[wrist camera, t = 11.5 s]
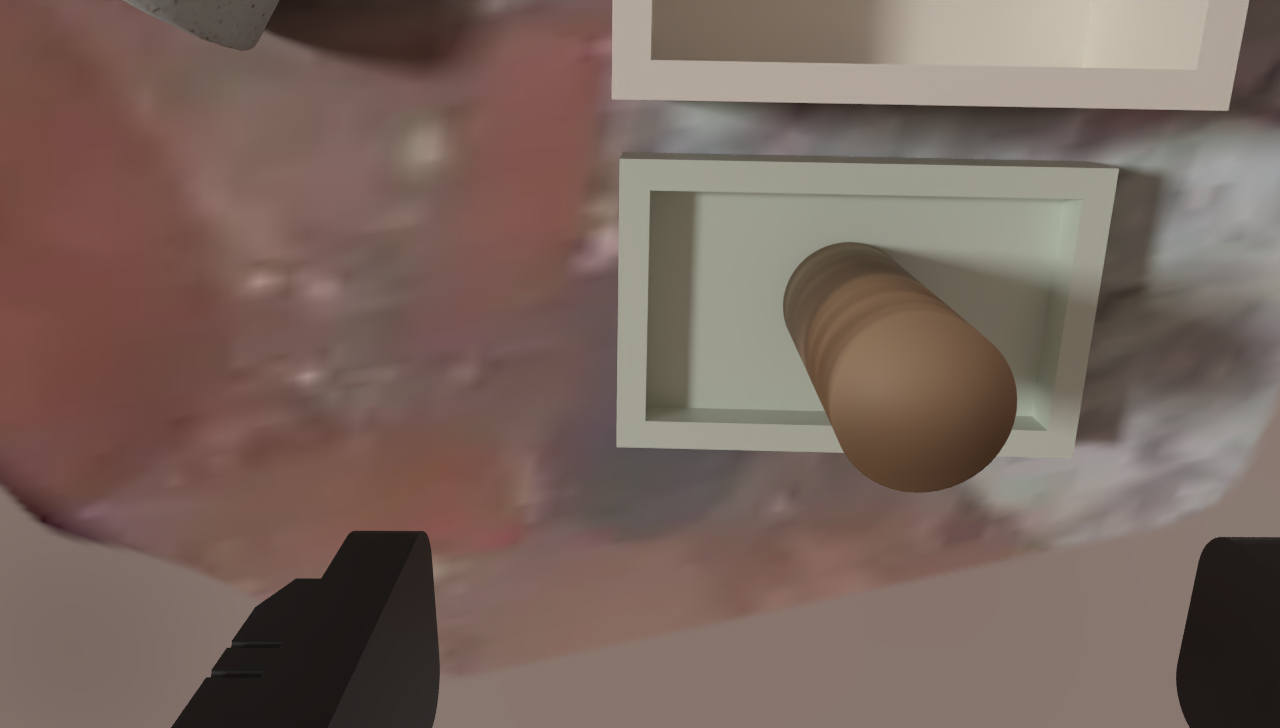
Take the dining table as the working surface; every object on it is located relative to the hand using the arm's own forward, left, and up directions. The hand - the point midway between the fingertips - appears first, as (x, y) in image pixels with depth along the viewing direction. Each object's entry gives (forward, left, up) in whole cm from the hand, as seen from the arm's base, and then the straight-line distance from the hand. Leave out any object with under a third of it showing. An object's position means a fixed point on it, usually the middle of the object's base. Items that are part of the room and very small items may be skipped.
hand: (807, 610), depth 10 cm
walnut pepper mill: (+2, +5, -24) cm, 25 cm away
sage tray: (+2, +5, -25) cm, 26 cm away
